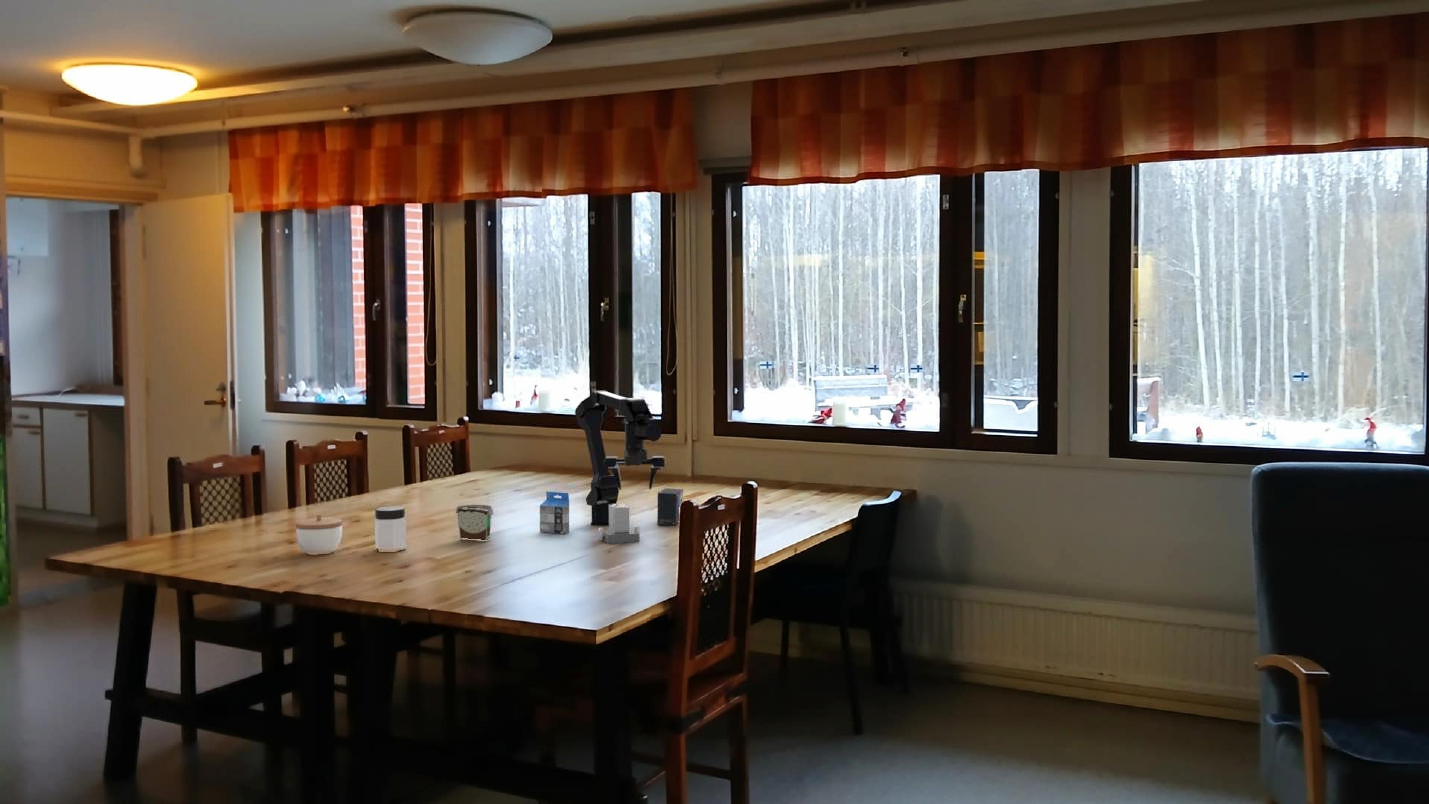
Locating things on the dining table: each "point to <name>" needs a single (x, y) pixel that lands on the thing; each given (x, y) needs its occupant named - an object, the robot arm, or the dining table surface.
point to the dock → (619, 536)
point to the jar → (390, 527)
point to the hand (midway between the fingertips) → (635, 489)
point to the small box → (669, 506)
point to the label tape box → (555, 513)
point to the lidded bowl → (319, 533)
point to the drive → (618, 519)
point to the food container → (474, 521)
